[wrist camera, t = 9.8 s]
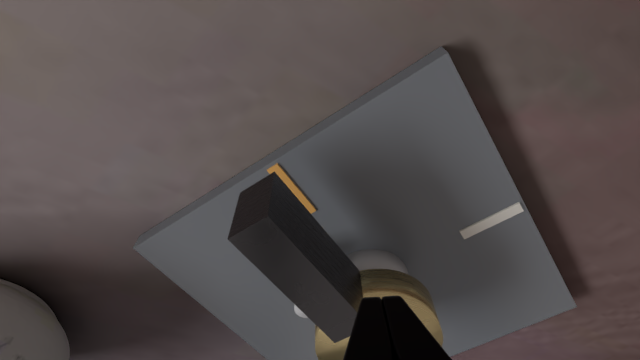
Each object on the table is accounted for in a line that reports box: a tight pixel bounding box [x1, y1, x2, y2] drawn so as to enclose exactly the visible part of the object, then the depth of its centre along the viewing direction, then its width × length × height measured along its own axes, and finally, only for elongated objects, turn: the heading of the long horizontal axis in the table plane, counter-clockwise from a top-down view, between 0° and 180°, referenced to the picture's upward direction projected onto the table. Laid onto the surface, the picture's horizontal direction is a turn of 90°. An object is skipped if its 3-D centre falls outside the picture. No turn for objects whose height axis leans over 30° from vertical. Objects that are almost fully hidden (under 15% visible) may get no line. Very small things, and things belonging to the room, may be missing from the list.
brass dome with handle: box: [228, 171, 443, 360], centre depth 19 cm, size 6×12×3 cm, turn 34°
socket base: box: [133, 46, 577, 360], centre depth 22 cm, size 18×18×5 cm
